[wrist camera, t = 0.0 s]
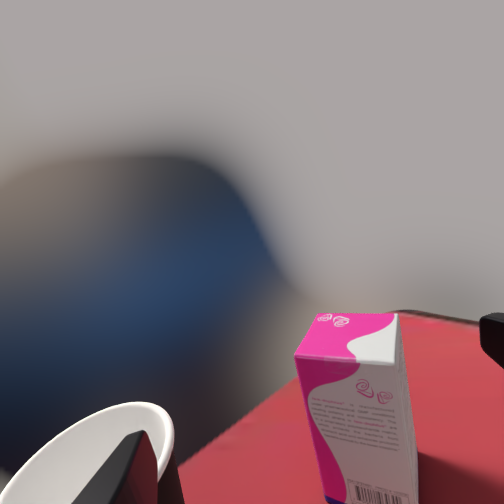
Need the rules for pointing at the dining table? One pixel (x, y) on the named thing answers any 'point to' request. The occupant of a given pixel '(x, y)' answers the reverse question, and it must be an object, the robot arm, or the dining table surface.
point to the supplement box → (359, 408)
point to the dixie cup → (95, 456)
